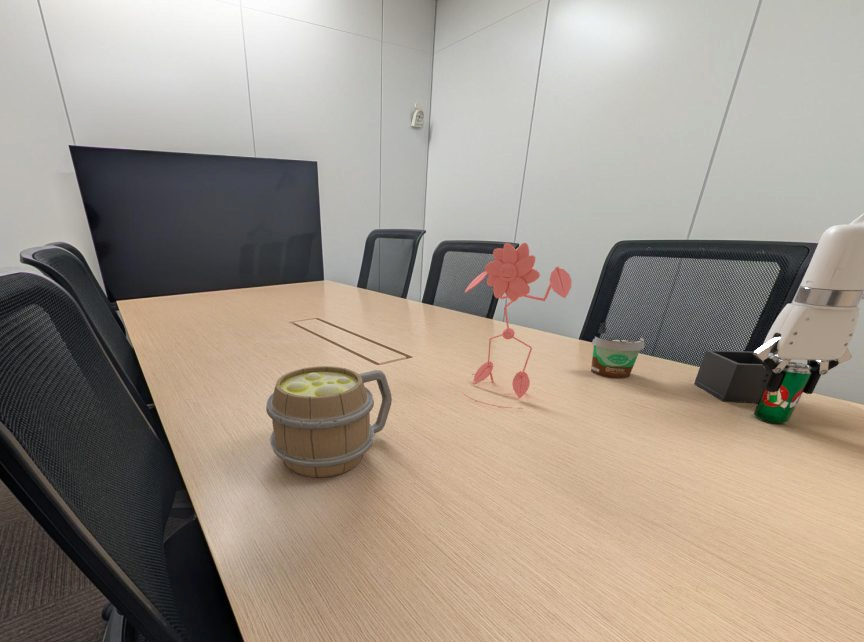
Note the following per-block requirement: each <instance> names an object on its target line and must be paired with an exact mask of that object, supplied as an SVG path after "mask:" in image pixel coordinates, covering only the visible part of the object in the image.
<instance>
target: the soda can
mask: <svg viewBox="0 0 864 642" xmlns="http://www.w3.org/2000/svg"><path fill="white" fill-rule="evenodd" d="M811 369H812V367H811V366H809V365H807V363H802V362H796V361H790V362H789V363H788V364H787V365H786V366H785V368H784V369H783V370H782V371H781V372H780V373H782V374H783V378H782V380H781V382H780V384H779V386H778V389H777V391H776V392H769V391H767V390H765V389H764V390H763V393H762V395H761V397H760V399H759V402H758V403H756V406H755V408H754V411H753V415H754V416H755V418H756V419H758V420H760V421H763V422H765V423H769V424H773V425H774V424H775V425H784V424H787V423H789V422H790V421H791V418H792V416H793V414H794V412H795V410H796V407H797V406H798V403H799V401H800V399H801V397H802V395H803V394H804V392H803V391H804V389H805V387H806V385H807V383H808V381H809V379H810V377H811V375H812V371H811Z"/></svg>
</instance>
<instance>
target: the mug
mask: <svg viewBox="0 0 864 642" xmlns="http://www.w3.org/2000/svg"><path fill="white" fill-rule="evenodd" d="M374 381H376V383H377V386H378V389H379V392H380V395H381V403H380V406H379V410H378V414H377V417H376V421H375V422H374V423H373V424H370V423H371V416H370V415H371V414H370V413H371V411H372V410H373V408H374V405H375V401H374V396H373V393H372V392H371V390H370V389H368V388H367V387H366V385H365V383H366V384H367V383H370V382H374ZM273 389H274V390H273V393H272V394H271V395H269V396H268V398H267V401H266V408H265V410H266V414H267V415H268V417H269V418H270V419H271V420H272V421H271V423H272V430H273V431H272V432H271V435H270V438H269V440H270V441H269V442H270V446H271V448H272V451H273V453H274V454H275V455H276V456H277V457H278V458H279V459H281V460H282V461H283V463H284V464H285V465H286V467H287V468H288V469H289V470H291V471H292V472H294V473H296V474H298V475H301V476H305V477H309V478H310V477H311V478H329V477H334V476H335V477H336V476H338V475H343V474H344V473H346V472H349V471H350V470H352V469H354V468H355V467H357V465H359V463H360V462H361V461H362V460H363V457H364V454H366V453H367V452H368V450H369V449H370V448H371V447H372V445H373V442H374V439H375V434H377V433H380V432H381V431H382V430H383V429H384V428H385V426H386V423H387V420H388V416H389V414H390V409H391V406H392V403H393V398H392V397H393V396H392V393H391V389H390V385H389V382H388V380H387V377H386V373H385V372H383V371H382V370H380V369H374V370H371V371H366V372H362V373H358V372H356V371H354V370H352V369H350V368H346V367H339V366H331V365H330V366H329V365H326V366H325V365H324V366H323V365H320V366H318V365H317V366H310V367H309V366H308V367H304V368H299V369H295V370H292V371H289V372H287V373H284V374H283V375H281V376H280V377H278V379H277V380H276V383H275V386H274V388H273Z"/></svg>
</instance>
